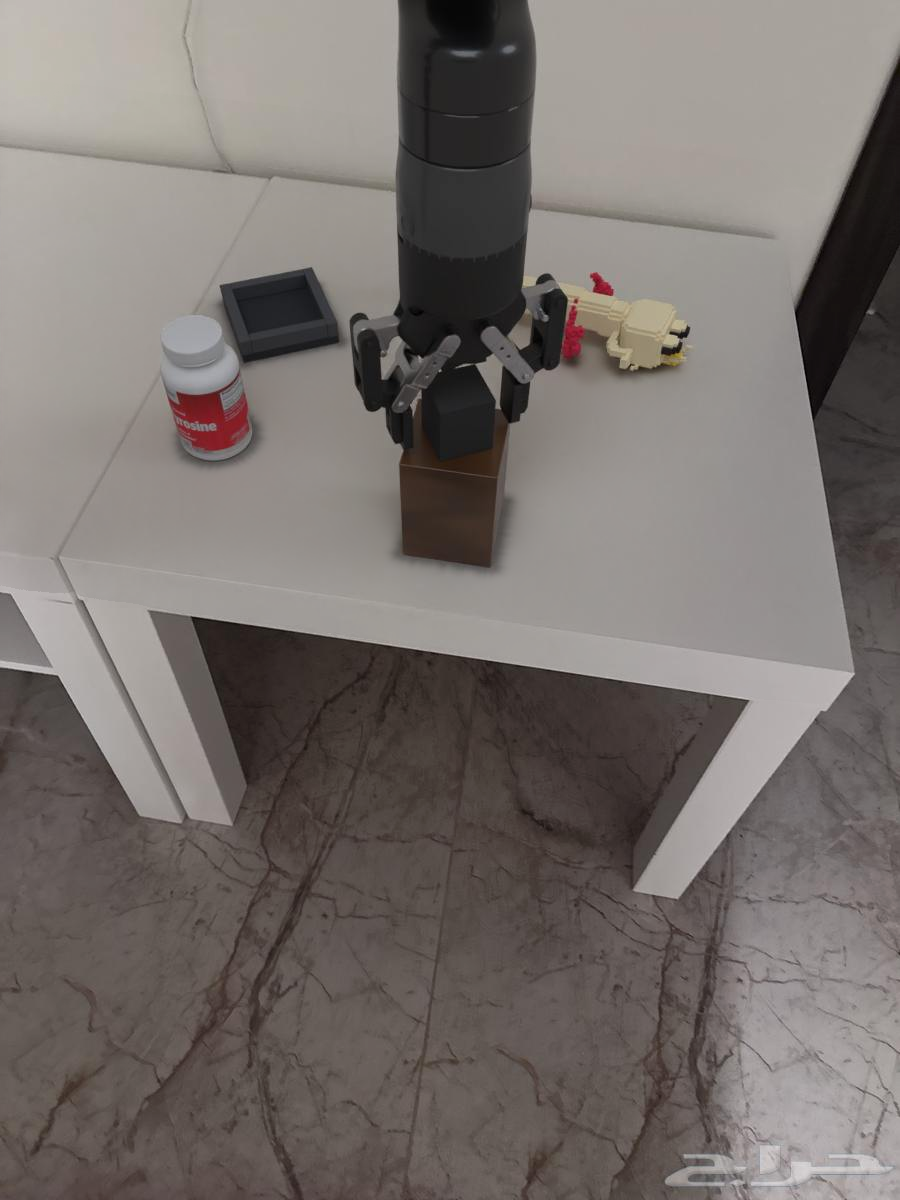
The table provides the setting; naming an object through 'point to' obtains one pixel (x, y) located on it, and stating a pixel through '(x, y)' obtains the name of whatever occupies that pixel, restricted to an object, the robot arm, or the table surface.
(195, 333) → the pill bottle
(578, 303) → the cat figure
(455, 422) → the black block
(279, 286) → the dark open tray
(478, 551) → the riser
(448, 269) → the robot arm
